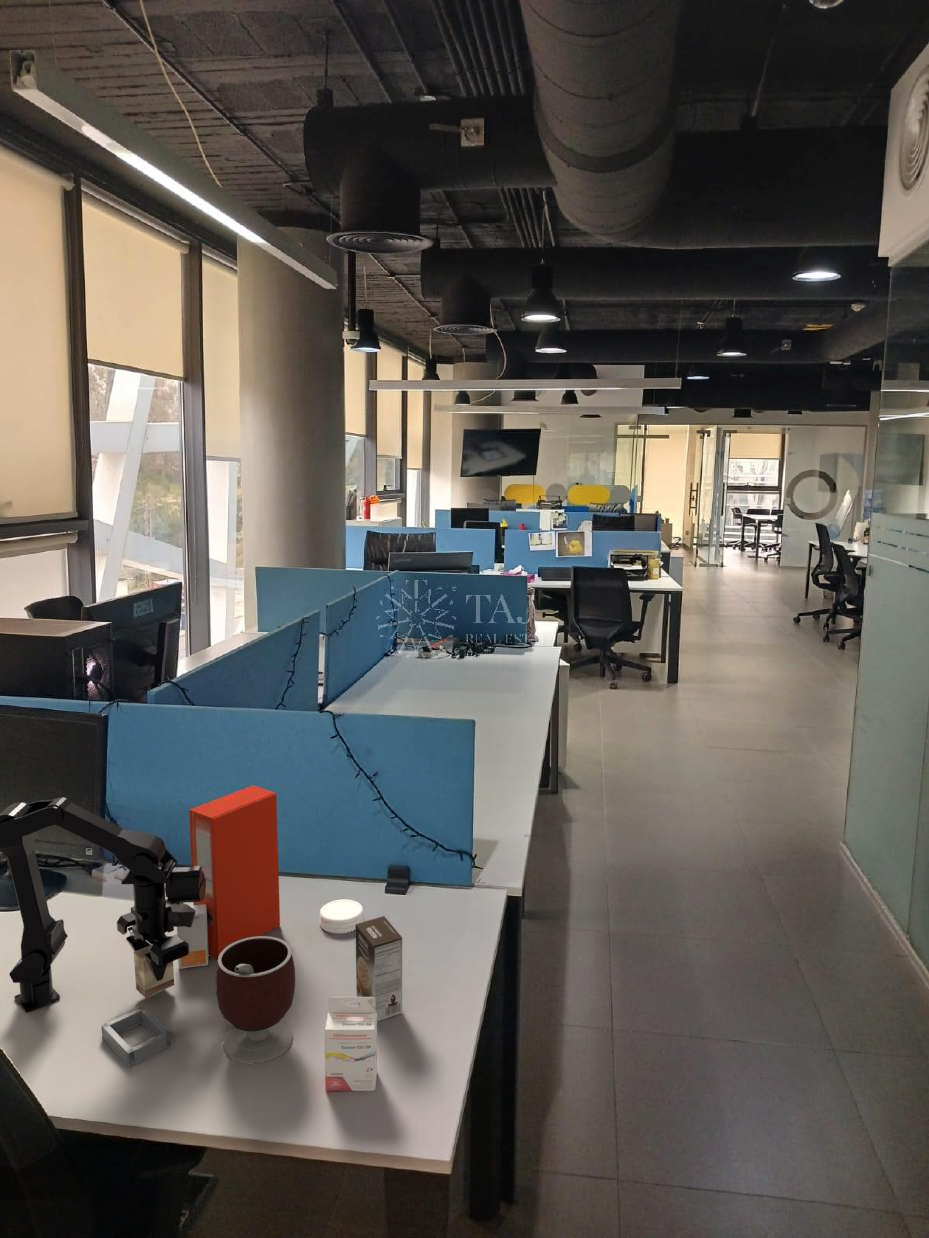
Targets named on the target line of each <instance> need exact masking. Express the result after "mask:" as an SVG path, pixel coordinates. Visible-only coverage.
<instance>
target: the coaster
mask: <svg viewBox="0 0 929 1238" xmlns="http://www.w3.org/2000/svg"><path fill="white" fill-rule="evenodd" d="M364 915H365V914H364V907H363V906H362V904H361V903H360V902H358V901H356V900H353V899H336V900H332V901H330V902H328V903H326V904H325V905H323V906H322V907H321V908H320V910H319V925H320V927H321V929H322V930H323V931H325V932H328V933H329V934H339V935H341V934H342V935H343V934H348V932H349V933H352V932H354V930H355V931H356V928H355V925H356V924H358V923H362V922H365V919H364ZM351 931H352V932H351Z"/></svg>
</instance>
